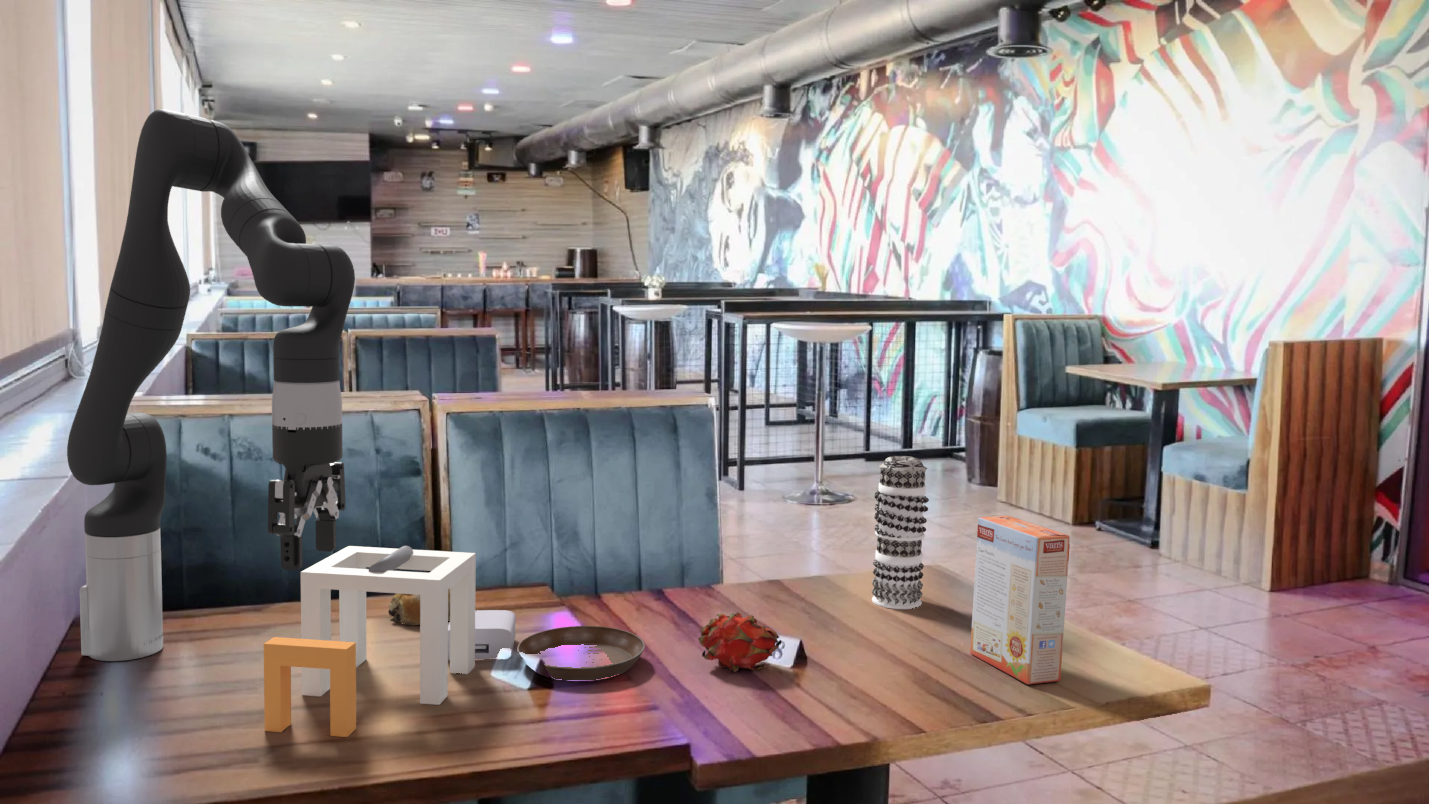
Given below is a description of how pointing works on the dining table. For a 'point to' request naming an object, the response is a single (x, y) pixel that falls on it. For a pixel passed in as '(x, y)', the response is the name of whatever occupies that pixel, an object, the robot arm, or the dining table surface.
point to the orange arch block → (310, 655)
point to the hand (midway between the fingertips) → (309, 559)
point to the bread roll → (409, 608)
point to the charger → (491, 632)
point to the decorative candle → (899, 533)
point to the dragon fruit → (738, 642)
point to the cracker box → (1020, 598)
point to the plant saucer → (612, 641)
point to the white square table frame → (432, 587)
